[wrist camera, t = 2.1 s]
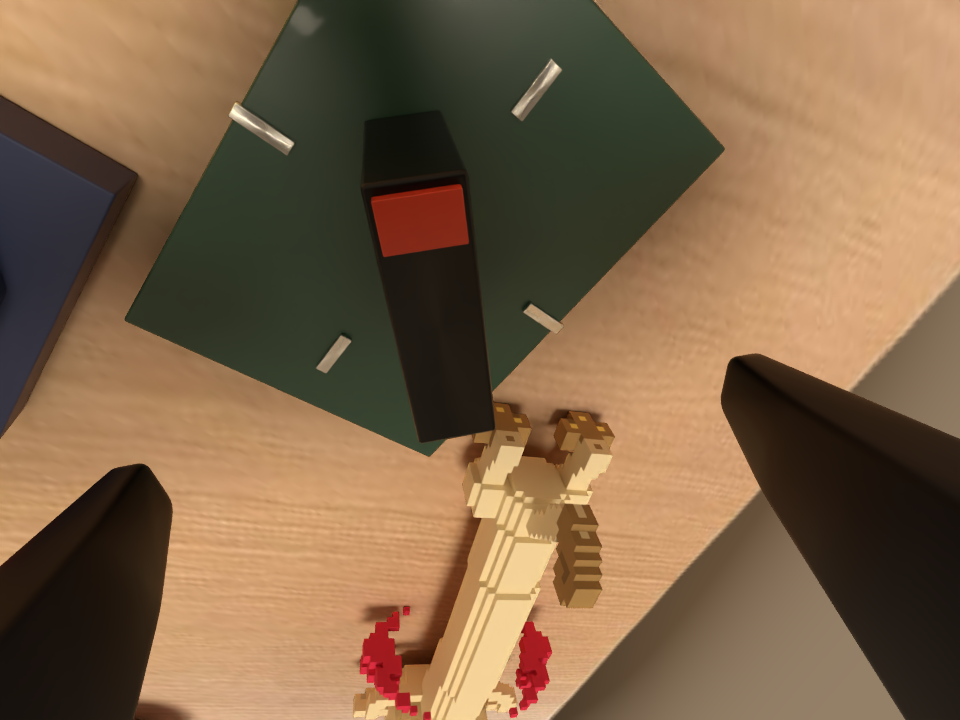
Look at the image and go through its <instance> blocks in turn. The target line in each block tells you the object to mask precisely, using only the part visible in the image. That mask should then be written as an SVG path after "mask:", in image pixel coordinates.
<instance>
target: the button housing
mask: <svg viewBox="0 0 960 720" xmlns="http://www.w3.org/2000/svg"><path fill="white" fill-rule="evenodd" d="M136 178H137V174H136V173H134V172H132V171H130V170H129V169H127V168H125V167H123V166H122V165H120V164H118V163H116V162H115V161H113V160H111V159H109V158H108V157H106V156H104V155H102V154H101V153H99V152H97V151H95V150H94V149H92V148H90V147H88V146H87V145H85V144H83V143H81V142H79V141H78V140H76V139H74V138H72V137H71V136H69V135H67V134H65V133H64V132H62V131H60V130H58V129H57V128H55V127H53V126H51V125H50V124H48V123H46V122H44V121H43V120H41V119H39V118H37V117H36V116H34V115H32V114H30V113H29V112H27V111H25V110H23V109H21V108H20V107H18V106H16V105H14V104H13V103H11V102H9V101H7V100H6V99H4V98H2V97H0V439H1V437H2V436H3V435H4V433H5V432H6V431H7V430H8V428H9V427H10V426H11V424H12V423H13V422H14V420H15V419H16V418H17V417H18V415H19V414H20V413H21V411H22V410H23V409H24V407H25V405H26V402H27V400H28V398H29V396H30V394H31V392H32V390H33V388H34V386H35V384H36V382H37V380H38V378H39V376H40V374H41V372H42V370H43V368H44V366H45V364H46V362H47V360H48V358H49V355H50V353H51V351H52V349H53V347H54V345H55V343H56V341H57V339H58V337H59V335H60V333H61V331H62V329H63V327H64V325H65V323H66V321H67V319H68V317H69V315H70V313H71V311H72V308H73V306H74V304H75V302H76V300H77V298H78V296H79V294H80V292H81V290H82V288H83V286H84V284H85V282H86V280H87V278H88V276H89V274H90V272H91V270H92V268H93V266H94V264H95V261H96V259H97V257H98V255H99V253H100V251H101V249H102V247H103V245H104V243H105V241H106V239H107V237H108V235H109V233H110V231H111V229H112V227H113V225H114V223H115V221H116V219H117V217H118V214H119V212H120V210H121V208H122V206H123V204H124V202H125V200H126V198H127V196H128V194H129V192H130V190H131V188H132V186H133V184H134V182H135V180H136Z"/></svg>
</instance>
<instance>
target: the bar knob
mask: <svg viewBox="0 0 960 720" xmlns="http://www.w3.org/2000/svg"><path fill="white" fill-rule="evenodd" d="M360 190H361V194H362V199H363V203H364V207H365V212H366V216H367V220H368V225H369V229H370V233H371V238H372V242H373V246H374V251H375V255H376V260H377V264H378V268H379V273H380V277H381V281H382V286H383V290H384V294H385V299H386V303H387V307H388V312H389V316H390V320H391V325H392V329H393V333H394V338H395V342H396V346H397V351H398V355H399V359H400V364H401V368H402V372H403V377H404V381H405V386H406V390H407V394H408V399H409V403H410V407H411V412H412V416H413V420H414V425H415V429H416V433H417V438H418V441H419V442H420V443H428V442H434V441H439V440H445V439H450V438H456V437H461V436H467V435H472V434H478V433H483V432H489V431H493V430H495V427H496V423H495V414H494V405H493V396H492V387H491V377H490V368H489V359H488V350H487V341H486V332H485V322H484V313H483V304H482V295H481V286H480V277H479V268H478V258H477V249H476V240H475V231H474V222H473V213H472V204H471V194H470V185H469V176H468V172H467V169H466V167H465V165H464V163H463V160H462V158H461V156H460V154H459V151H458V149H457V147H456V144H455V142H454V140H453V138H452V135H451V133H450V131H449V128H448V126H447V124H446V122H445V119H444V117H443V115H442V113H441V111H438V110H437V111H430V112H423V113H416V114H409V115H402V116H395V117H388V118H381V119H373V120H367V121H365V122H364V130H363V149H362V168H361V187H360Z"/></svg>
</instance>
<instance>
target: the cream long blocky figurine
mask: <svg viewBox="0 0 960 720" xmlns="http://www.w3.org/2000/svg"><path fill="white" fill-rule="evenodd" d="M493 405H494V414H495V423H496V427H495V430H493V431H489V432H483V433H478V434H472V438H473V442H476V443H488V445H485V446H484V450H483V453H482V456H481V457H478V458H475V460H474V463H471V462H469V464H468V468H467V471H466V474H465V477H464V480H463V484H462V486H463V490H464V495H465V500H466V505H467V506H471V509H472V513H473V517H476V518H482V519H481V522H480V525H479V528H478V531H477V533H476V536H475V539H474V542H473V545H472V548H471V551H470V554H469V556H468V559H467V562H468V568H467V571H466V573H465V576H464V579H463V582H462V585H461V588H460V591H459V593H458V596H457V599H456V602H455V605H454V608H453V610H452V613H451V616H450V619H449V622H448V625H447V627H446V630H445V633H444V636H443V638H440V640H439V643H438V645H437V648H436V651H435V654H434V657H433V660H432V663H431V664H421V665H404V668H402V659H401V655H399V656H395V641H394V638H388V631H399V628H400V625H399V612H393V614H392V617H387V622H376V625H375V633H370V637H369V639H364V642H363V655H362V656H361V660H360V674H367V683H374V685H375V688H366V690H365V694H355V696H354V703H353V717H365V720H367V719H377V716H385V720H487V715H486V711H487V710H497V713H500V712H508V710H509V709H510V710H509V714H510V718H514V717H517V715H518V712H517V707H516V705H517V700H516V695H515V691H514V688H512V687H509V684H503V683H500V681H499V679H500V677H501V675H502V672H503V670H504V668H505V666H506V664H507V661H508V659H509V657H510V655H511V653H512V650H513V648H514V646H515V644H516V642H517V640H518V637H519V635H520V633H524V636H523V637H522V638H521V640H520V642H519V647H520V651H521V653H520V655H519V658H520V664H519V668H520V669H517V670H516V676H517V678H516V681H515V682H516V686H517V687H519V689H523V690H522V694H523V699H522V701H520V703H519V706H520V710H527V708H528V707H529V705H530V704H531V703H537V701H538V698H537V693H538V691H541V690H545V688H546V685H545V684H548V683H549V681H550V680H549V676H548V673H547V669H546V666H545V665H546V663H547V660H548V659H549V657H550V656H551V654H552V650H551V647H550V643H549V640H548V637H547V636H546V637H542V633H541V631H536V630H535V627H534V623H533V622H526V620H527V618H528V615H529V613H530V611H531V609H532V607H533V604H534V602H535V600H536V598H537V596H538V593H539V591H540V589H541V586H540V583H539V581H540V579H541V577H542V574H543V572H544V570H545V568H546V566H547V563H548V561H549V559H550V557H551V554H552V552H553V550H554V548H555V545H556V543H557V542H559V544H558V546H557V548H556V550H557V553H558V556H559V557H558V559H557V561H556V563H555V565H554V568H553V570H554V573H555V575H556V576H555V578H554V581H553V584H554V587H555V590H556V593H557V596H558V599H559V602H560V605H561V606H566V607H567V608H593V606H594V604H595V603H596V601H597V599H598V597H599V595H600V593H601V591H602V587H601V585H600V583H599V580H600V579H601V577H602V573H601V571H600V569H599V566H600V564H601V562H602V559H601V557H600V555H599V552H600V550H601V548H602V545H601V543H600V541H599V539H598V536H597V534H596V530H597V528H598V526H599V525H598V523H597V521H596V518H595V516H594V514H593V512H592V510H591V508H590V506H589V505H587V503H588V501H589V499H590V496H591V494H592V492H593V490H592V488H591V486H590V482H591V479H597V477H598V475H599V473H605V471H606V469H607V467H608V465H609V463H610V461H611V459H612V456H613V455H612V453H611V451H610V447H611V444H612V442H613V440H614V438H615V436H614V434H613V433H612V431H611V429H610V428H609V426H608V424H607V423H601V422H594V421H593V420H592V418H591V416H590V414H589V413H583V412H574V411H569V413H568V416H567V418H566V419H563V418H560V421H559V423H558V426H557V428H556V431H555V433H554V438H555V440H556V442H557V444H558V447H559V449H560V450H566V451H574V452H569V453H568V456H567V458H566V460H565V463H564V464H560V465H555V466H554V464H553V463H547V462H546V460H545V458H538V457H526V456H522V454H523V451H524V448H525V445H526V443H527V440H528V437H529V434H530V432H531V429H532V428H531V426H530V423H529V421H528V418H527V416H526V415H525V414H516V413H512V412H511V410H510V407H509V404H502V403H493ZM409 613H410V607H404V609H403V615H409Z"/></svg>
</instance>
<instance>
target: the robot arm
mask: <svg viewBox="0 0 960 720" xmlns="http://www.w3.org/2000/svg"><path fill="white" fill-rule="evenodd" d="M721 405H722V409H723V412H724V414H725V416H726V418H727V420H728V422H729V424H730V426H731V428H732V431H733V433H734V435H735V437H736V439H737V441H738V443H739V445H740V447H741V449H742V451H743V453H744V455H745V457H746V459H747V462H748V464H749V466H750V468H751V470H752V472H753V474H754V476H755V478H756V480H757V482H758V484H759V486H760V488H761V490H762V491H763V493H764V495H765V497H766V498H767V500H768V501H769V503H770V505H771V507H772V508H773V510H774V511H775V513H776V514H777V516H778V518H779V519H780V521H781V522H782V524H783V526H784V527H785V529H786V530H787V532H788V534H789V535H790V537H791V538H792V540H793V542H794V543H795V545H796V546H797V548H798V550H799V551H800V553H801V554H802V556H803V557H804V559H805V561H806V562H807V564H808V565H809V567H810V569H811V570H812V572H813V573H814V575H815V576H816V578H817V580H818V581H819V583H820V585H821V586H822V588H823V589H824V591H825V593H826V594H827V596H828V597H829V599H830V601H831V602H832V604H833V605H834V607H835V608H836V610H837V612H838V613H839V615H840V616H841V618H842V619H843V621H844V623H845V624H846V626H847V627H848V629H849V631H850V632H851V634H852V636H853V637H854V639H855V640H856V642H857V644H858V645H859V647H860V648H861V650H862V651H863V653H864V655H865V656H866V658H867V659H868V661H869V662H870V664H871V666H872V667H873V669H874V671H875V672H876V673H877V675H878V677H879V679H880V680H881V682H882V683H883V685H884V686H885V688H886V689H887V691H888V693H889V695H890V696H891V698H892V699H893V701H894V702H895V704H896V705H897V707H898V709H899V710H900V712H901V713H902V715H903V717H904V718H905V720H960V439H959V438H956V437H954V436H951V435H949V434H947V433H944V432H942V431H940V430H937V429H935V428H933V427H930V426H928V425H926V424H923V423H921V422H919V421H916V420H914V419H912V418H909V417H907V416H905V415H902V414H900V413H898V412H895V411H893V410H890V409H888V408H886V407H883V406H881V405H879V404H876V403H874V402H872V401H869V400H867V399H865V398H862V397H860V396H858V395H855V394H853V393H851V392H848V391H846V390H843V389H841V388H839V387H836V386H834V385H832V384H829V383H827V382H825V381H822V380H820V379H818V378H815V377H813V376H811V375H808V374H806V373H804V372H801V371H799V370H796V369H794V368H792V367H789V366H787V365H785V364H782V363H780V362H778V361H775V360H773V359H771V358H768V357H766V356H764V355H761V354H748V355H742V356H737V357H734V358H732V359H731V360H730V361H729V363H728V366H727V371H726V375H725V380H724V384H723V389H722V394H721ZM172 514H173V510H172V503H171V500H170V498H169V496H168V495H167V493H166V492H165V490H164V489H163V487H162V486H161V484H160V483H159V481H158V480H157V478H156V477H155V475H154V474H153V472H152V471H151V469H150V468H149V467H148V466H146V465H145V464H133V465H127V466H122V467H117V468H114V469H112V470H111V471H109V472H108V473H107V474H106V475H105V476H103V477H102V478H101V479H100V480H99V481H98V482H97V483H95V484H94V485H93V486H92V487H91V488H90V489H88V490H87V491H86V492H85V493H84V494H83V495H82V496H80V497H79V498H78V499H77V500H76V501H75V502H74V503H72V504H71V505H70V506H69V507H68V508H67V509H65V510H64V511H63V512H62V513H61V514H60V515H59V516H57V517H56V518H55V519H54V520H53V521H52V522H51V523H49V524H48V525H47V526H46V527H45V528H44V529H42V530H41V531H40V532H39V533H38V534H37V535H36V536H34V537H33V538H32V539H31V540H30V541H29V542H28V543H26V544H25V545H24V546H23V547H22V548H21V549H19V550H18V551H17V552H16V553H15V554H14V555H13V556H11V557H10V558H9V559H8V560H7V561H6V562H5V563H3V564H2V565H1V566H0V720H134V717H135V713H136V708H137V704H138V700H139V696H140V692H141V688H142V684H143V680H144V676H145V671H146V667H147V663H148V659H149V655H150V651H151V647H152V643H153V639H154V634H155V630H156V626H157V621H158V617H159V612H160V607H161V600H162V594H163V586H164V578H165V570H166V562H167V554H168V546H169V539H170V531H171V523H172Z"/></svg>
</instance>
